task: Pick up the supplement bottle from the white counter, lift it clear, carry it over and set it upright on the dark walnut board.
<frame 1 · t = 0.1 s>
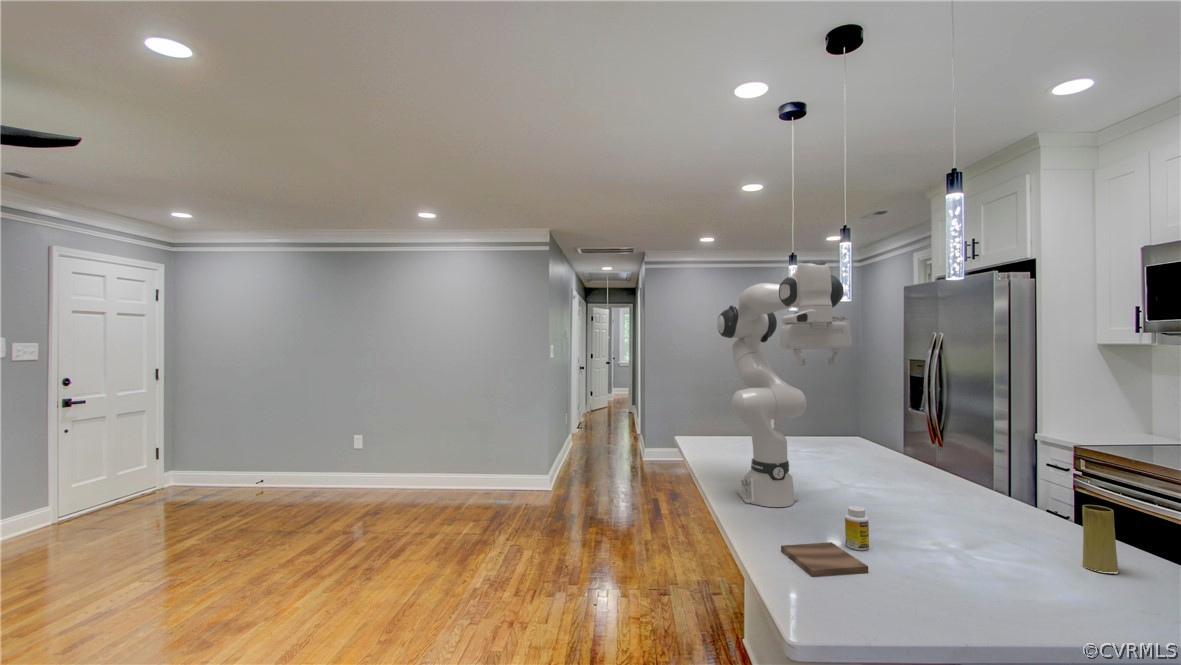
hand: (816, 365, 147), 48 cm above the counter, tool pointing down, fingers open, 8 cm apart
walnut board: (822, 561, 128), on the counter
supplement bottle: (857, 547, 137), on the counter
vase: (1100, 570, 121), on the counter
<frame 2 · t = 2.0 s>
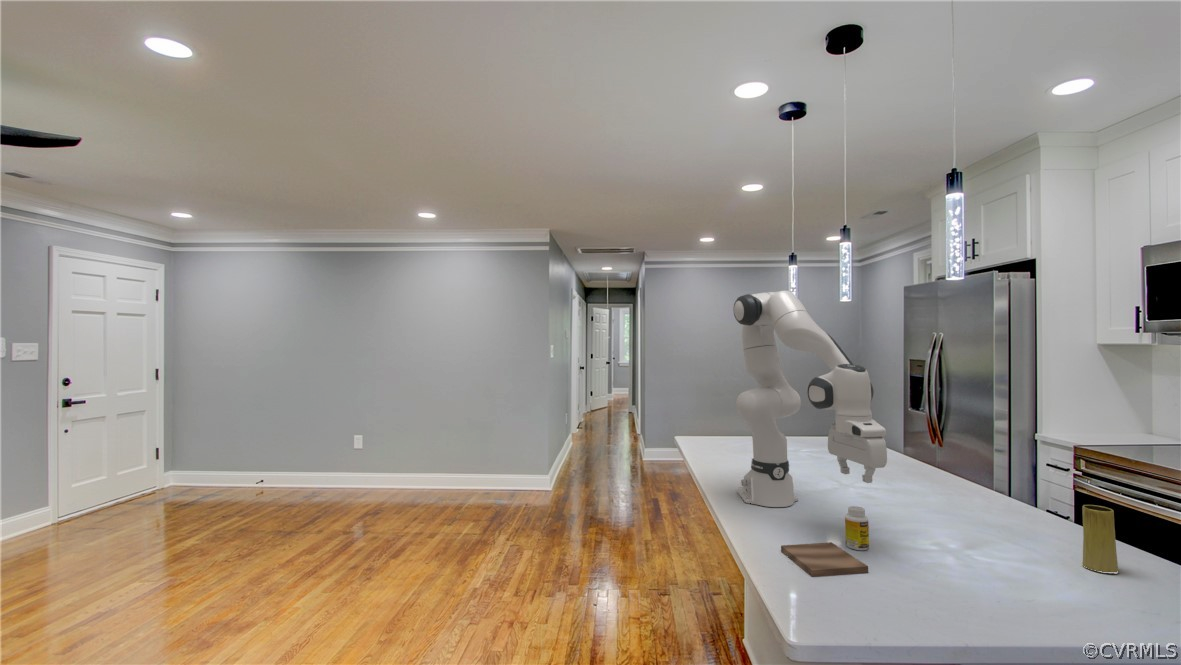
hand: (855, 477, 137), 18 cm above the counter, tool pointing down, fingers open, 8 cm apart
nothing on the counter moved.
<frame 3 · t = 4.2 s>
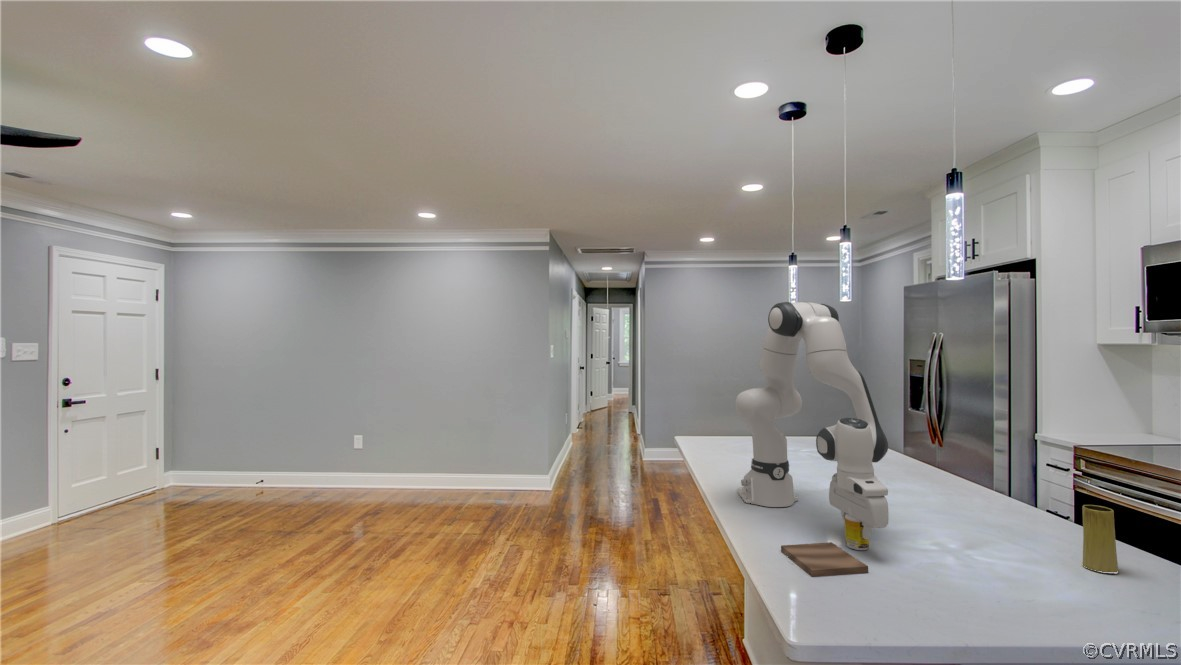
hand: (857, 533, 137), 4 cm above the counter, tool pointing down, fingers closed on supplement bottle, 6 cm apart
supplement bottle: (857, 547, 137), on the counter, touching gripper
everything else where it was.
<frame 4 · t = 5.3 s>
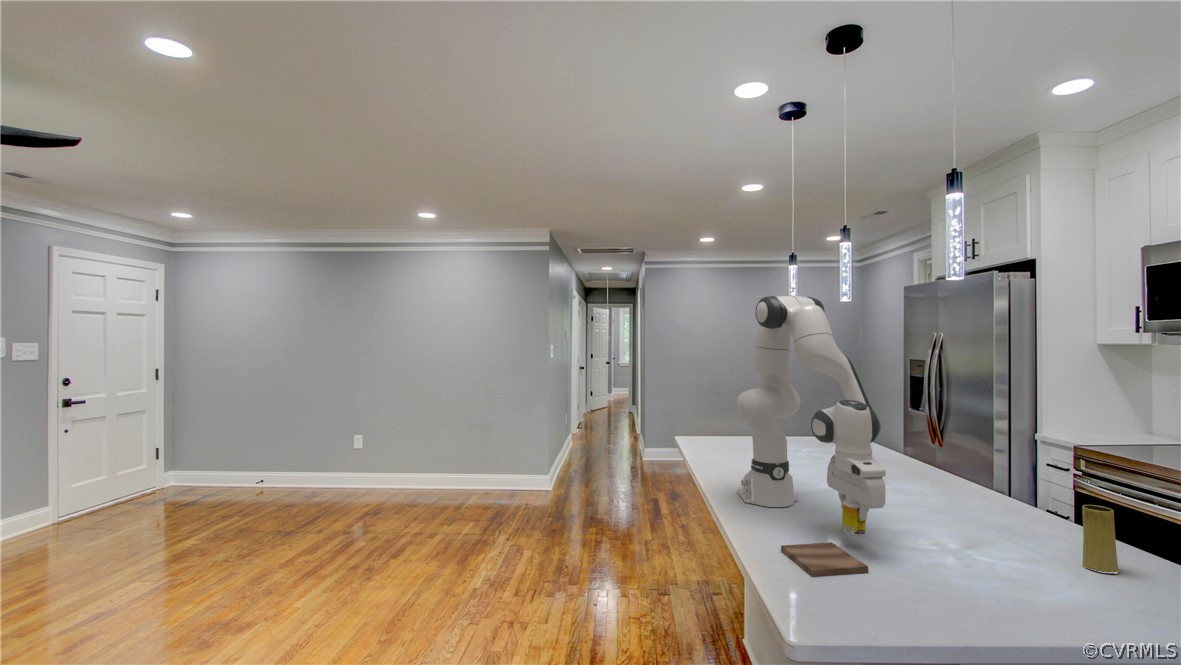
hand: (853, 514, 137), 8 cm above the counter, tool pointing down, fingers closed on supplement bottle, 5 cm apart
supplement bottle: (853, 533, 137), point 3 cm above the counter, touching gripper
everything else where it was.
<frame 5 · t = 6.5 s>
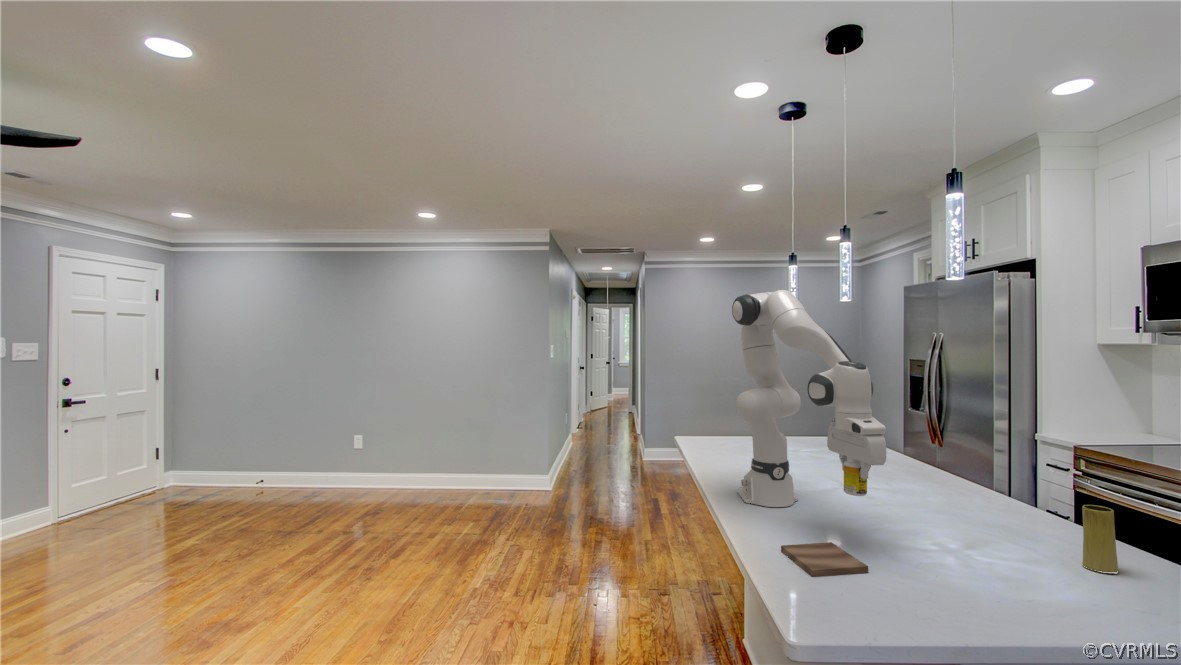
hand: (855, 474, 137), 19 cm above the counter, tool pointing down, fingers closed on supplement bottle, 5 cm apart
supplement bottle: (855, 494, 137), point 14 cm above the counter, touching gripper
everything else where it was.
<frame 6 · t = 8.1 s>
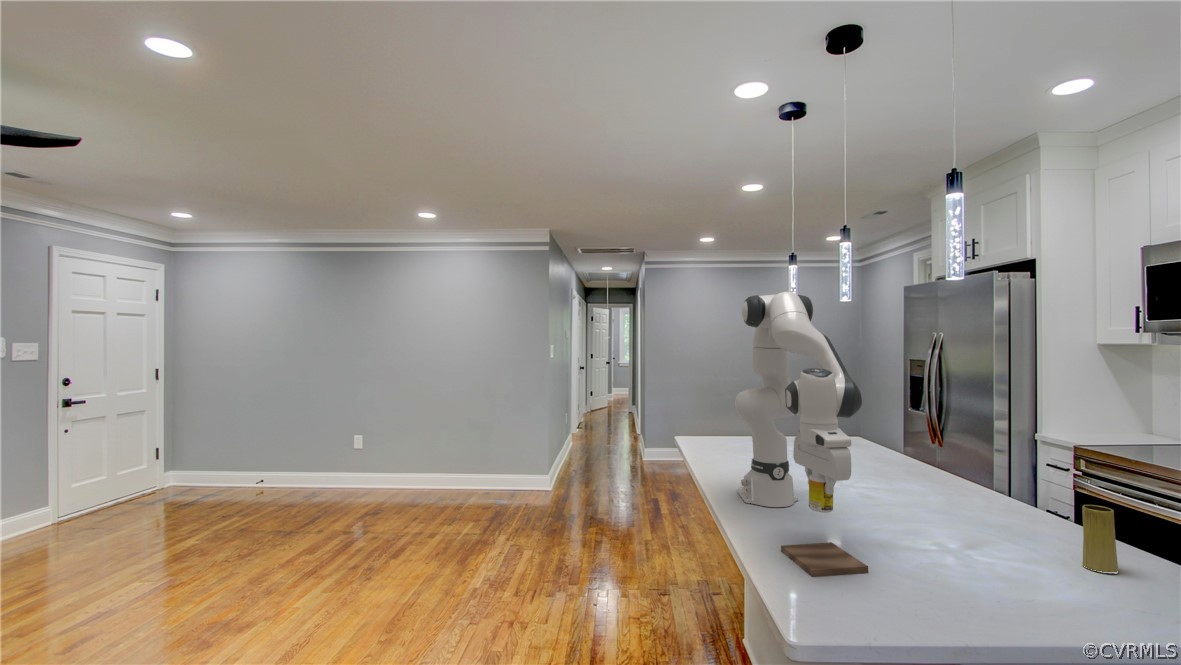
hand: (820, 489, 128), 18 cm above the counter, tool pointing down, fingers closed on supplement bottle, 5 cm apart
supplement bottle: (821, 510, 128), point 12 cm above the counter, touching gripper
everything else where it was.
when the fingers open (7 cm above the counter, at t = 10.9 s): supplement bottle stays where it is, resting on walnut board.
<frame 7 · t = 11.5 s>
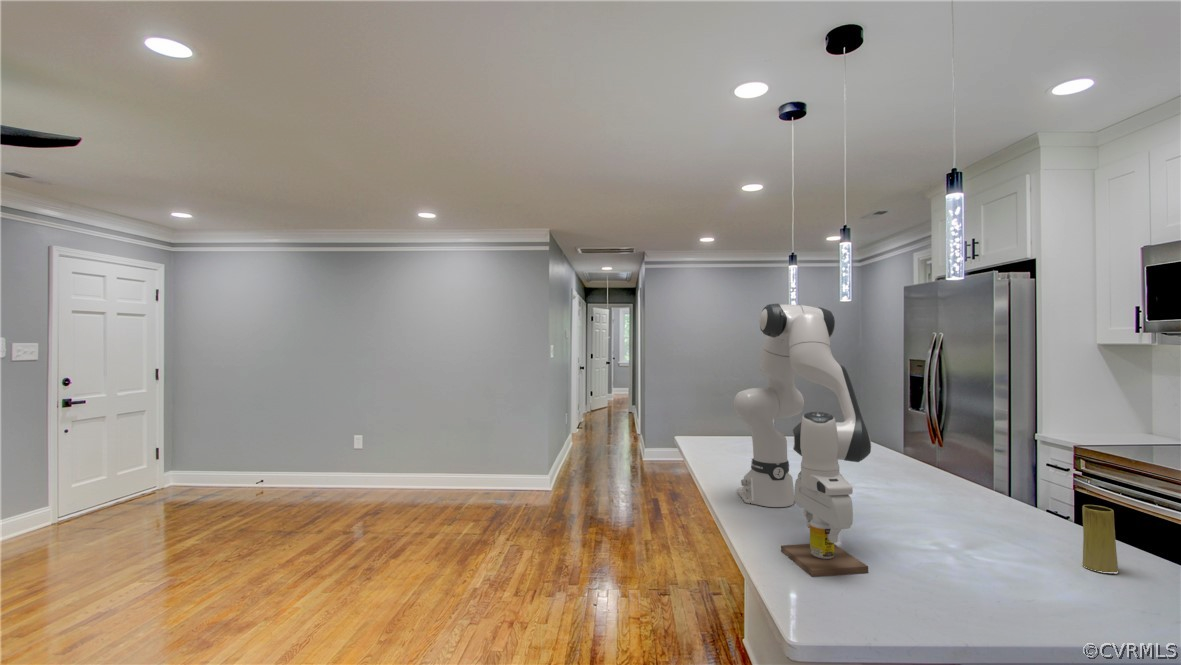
hand: (821, 534, 128), 7 cm above the counter, tool pointing down, fingers open, 8 cm apart
supplement bottle: (822, 556, 128), point 1 cm above the counter, touching walnut board
everything else where it was.
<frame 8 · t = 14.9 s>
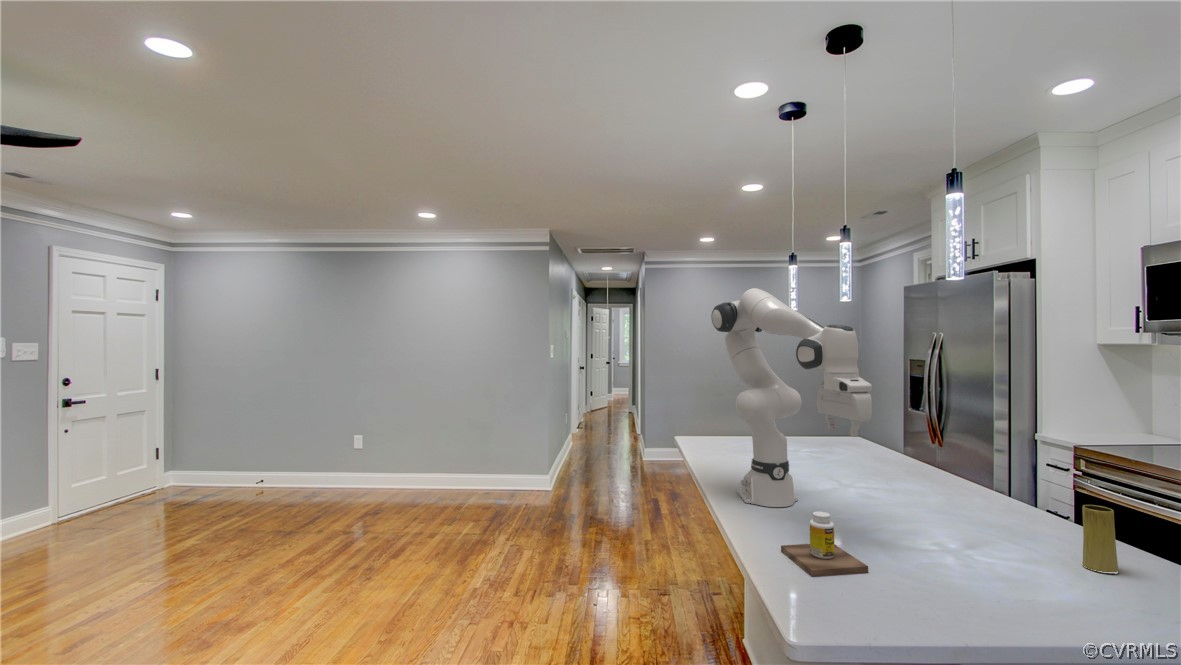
hand: (842, 433, 142), 29 cm above the counter, tool pointing down, fingers open, 8 cm apart
nothing on the counter moved.
at the end: supplement bottle inside the target area (0.0 cm from its centre), point 1.3 cm above the counter; supplement bottle tilted 0°; the gripper is holding nothing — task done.
